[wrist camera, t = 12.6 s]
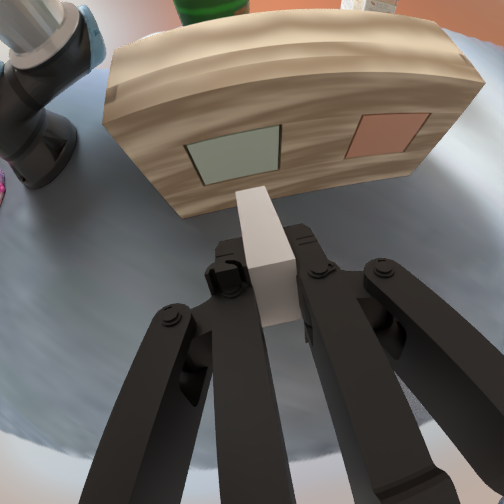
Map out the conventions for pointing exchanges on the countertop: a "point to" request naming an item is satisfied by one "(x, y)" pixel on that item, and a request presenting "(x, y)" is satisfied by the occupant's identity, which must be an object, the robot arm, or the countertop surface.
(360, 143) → the terracotta button
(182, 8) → the bottle
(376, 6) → the cracker box
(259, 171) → the sage button
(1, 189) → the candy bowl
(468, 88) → the block
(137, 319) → the countertop surface
